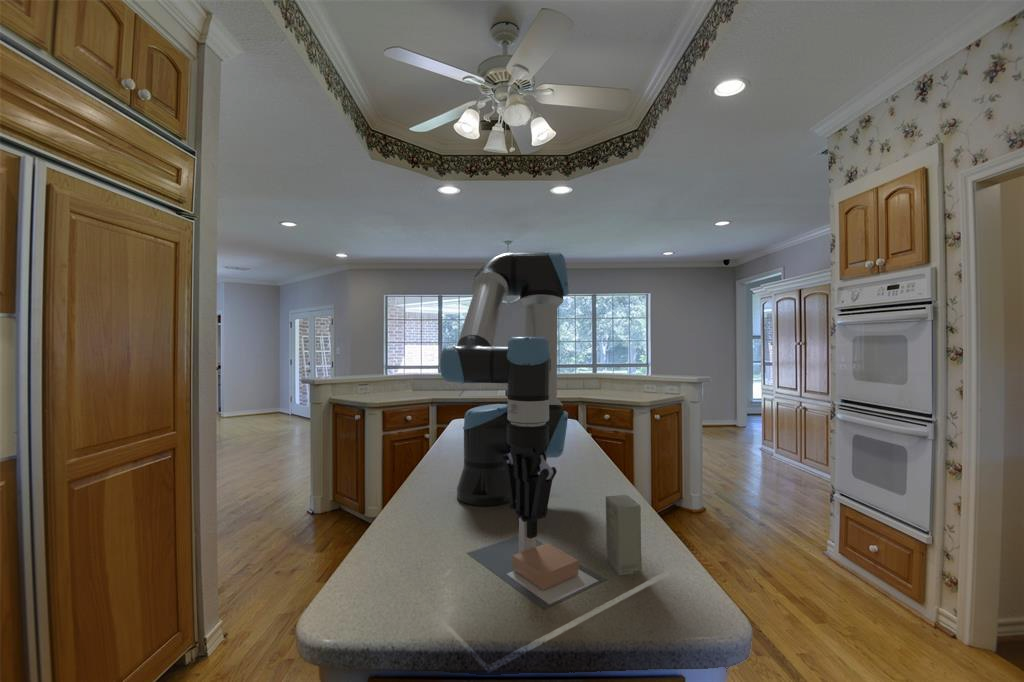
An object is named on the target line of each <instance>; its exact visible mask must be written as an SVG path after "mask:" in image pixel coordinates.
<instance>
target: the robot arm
mask: <svg viewBox="0 0 1024 682" xmlns="http://www.w3.org/2000/svg"><path fill="white" fill-rule="evenodd" d="M565 259H566V258H565V256H564V255H563V254H562V253H561V252H552V251H544V252H543V251H539V252H537V251H536V252H530V251H529V252H505V253H501V254H499V255H497V256H495V257H492V258H490V260H489V261H487V262H486V263H484V265H482V266H481V267H480V268H479V270H478V271H476V274H475V275H474V278H473V281H472V284H471V289H472V293H473V294H472V297H471V301H470V303H469V306H468V309H467V313H466V316H465V319H464V322H463V325H462V329H461V331H460V334H459V337H458V341H457V345H456V344H454V345H449V346H445V347H443V349H442V351H441V354H440V360H439V362H440V363H439V365H440V366H439V367H440V373H441V377H442V378H443V380H444V381H445V382H449V383H457V384H458V383H459V384H460V383H461V384H507V403H495V404H493V403H492V404H485V405H484V404H483V405H479V406H476V407H473V408H470V409H468V410H467V411H466V412H465V413H464V416H463V417H464V419H463V420H464V421H463V427H462V429H463V468H462V471H461V475H460V477H459V480H458V484H457V487H456V498H457V500H459V501H460V502H462V503H464V504H467V505H471V506H477V507H478V506H479V507H481V506H482V507H484V506H485V507H488V506H490V507H492V506H499V505H503V504H507V503H508V504H509V508H510V509H511V510H514V511H515V514H516V516H517V532H518V536H519V553H521V552H524V551H527V550H529V549H532V548H535V547H536V540H537V539H536V538H537V536H538V520H540V519H543V518H546V516H547V513H548V512H547V511H548V506H549V501H550V495H551V489H552V483H553V480H554V478H555V476H556V474H557V468H556V467H554V466H552V467H551V466H550V465H549V464H548V463H547V459H548V458H550V459H551V458H560V457H561V456H562V455H563V453H564V449H565V443H566V435H567V427H568V418H569V413H568V411H566V410H564V407H563V406H564V405H563V403H562V402H561V401H560V400H559V399H558V308H559V307H560V306H561V305H562V304H563V303H564V297H566V296H569V292H570V291H569V289H570V288H569V283H568V279H569V278H568V272H567V265H566V264H567V263H566V260H565ZM508 296H512V297H513V296H515V297H516V296H517V297H518V296H519V302H520V303H521V305H522V306H524V309H525V310H524V311H525V316H524V317H525V318H524V320H525V321H524V336H512V337H510V338H509V340H508V341H507V346H501V345H499V346H498V345H497V346H496V345H495V346H494V342H495V337H496V334H497V328H498V324H499V319H500V314H501V310H502V305H503V302H504V301H505V299H506V298H507V297H508Z"/></svg>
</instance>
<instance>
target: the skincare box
mask: <svg viewBox="0 0 1024 682" xmlns="http://www.w3.org/2000/svg"><path fill="white" fill-rule="evenodd" d="M641 508H642V507H641V504H639V502H636V501H635V500H634V499H633V498H631V497H630V496H628V495H627V494H623V495H622V494H621V495H620V494H619V495H608V496H607V495H606V496H605V521H606V522H605V523H606V524H605V534H606V537H605V539H606V540H605V541H606V543H605V545H606V547H605V548H606V560H607V561H608V563H609V564H610V565H611V567H612V568H613V570H614V571H615V572H616V573H617V575H618V576H627V575H639V574H642V573H643V571H642V528H641V527H642V524H641V521H642V519H641V518H642V515H641V514H642V513H641V511H642V509H641Z"/></svg>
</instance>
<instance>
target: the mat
mask: <svg viewBox="0 0 1024 682" xmlns="http://www.w3.org/2000/svg"><path fill="white" fill-rule="evenodd" d="M543 544H544V543H542V542H540V541H538V540H537V539H536V547H538V546H540V545H543ZM518 553H519V535H516V536H514V537H511V538H508V539H504V540H501V541H499V542H496V543H495V542H494V543H493V544H490V545H487V546H484V547H480V548H478V549H475V550H472V551H468V552H466V554H467V555H468V556H469V557H471V558H472V559H473V560H475V561H477V562H478V563H479V564H481V566H483V567H484V568H486V569H487V570H489V571H490V572H491V573H492V574H494V575H495V576H497V577H498V578H500V579H501V580H503V581H504V582H505V583H506V584H507V585H509V586H511V587H512V588H513V589H515V591H517V592H519V593H520V594H522V596H524V597H526V598H527V599H528V600H530V601H531V602H532V603H534V604H535V605H536V606H537V607H539V608H541V610H543V611H545V610H547V609H550V608H552V607H554V606H557V604H560V603H562V602H564V601H566V600H568V599H570V598H572V597H575V596H576V595H579V594H581V593H582V592H585V591H587V590H588V589H591V588H593V587H595V586H597V585H599V584H601V583H603V582H605V581H607V580H608V579H607V578H605V577H603V576H601V575H600V574H598V573H596V572H594V571H592V570H591V569H589V568H587V567H585V566H583V565H582V564H580V563H579V568H578V575H576V576H574V577H571V578H569V579H567V580H565V581H562V582H560V583H558V584H555V585H553V586H551V587H549V588H546V589H544V590H542V589H541V588H539V587H538V586H536V585H535V584H533V583H532V582H530V581H529V580H528V579H526V578H525V577H523V576H522V575H520V574H519V573H517V572H516V571H515V570H513V555H515V554H518Z"/></svg>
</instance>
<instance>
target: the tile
mask: <svg viewBox="0 0 1024 682" xmlns="http://www.w3.org/2000/svg"><path fill="white" fill-rule="evenodd" d="M542 544H543V545H540V546H538V547H535V548H532V549H529V550H527V551H524V552H521V553H518V554H515V555H513V570H515V571H516V572H517V573H519V574H520V575H522V576H523V577H525V578H526V579H528V580H529V581H530V582H532V583H533V584H535V585H536V586H538V587H539V588H541V589H542V590H544V589H546V588H549V587H551V586H553V585H555V584H558V583H560V582H562V581H565V580H567V579H569V578H571V577H574V576H576V575H578V568H579V564H580V563H579V561H580V560H578V559H577V558H575V557H573V556H572V555H570V554H568V553H566V552H564V551H562V550H561V549H559V548H557V547H555V546H554V545H552V544H550V543H548V542H547V543H542Z"/></svg>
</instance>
